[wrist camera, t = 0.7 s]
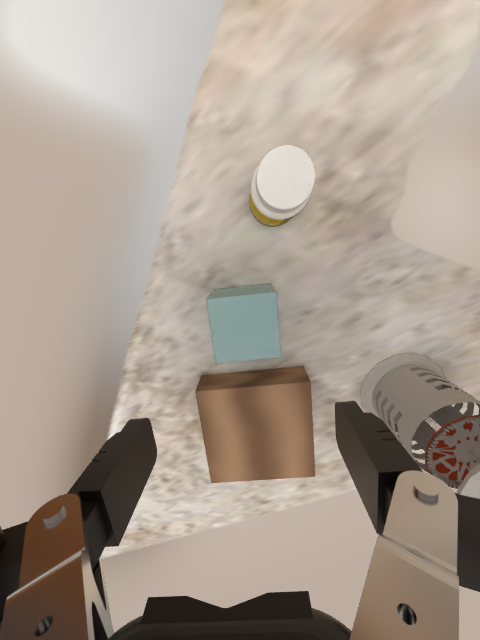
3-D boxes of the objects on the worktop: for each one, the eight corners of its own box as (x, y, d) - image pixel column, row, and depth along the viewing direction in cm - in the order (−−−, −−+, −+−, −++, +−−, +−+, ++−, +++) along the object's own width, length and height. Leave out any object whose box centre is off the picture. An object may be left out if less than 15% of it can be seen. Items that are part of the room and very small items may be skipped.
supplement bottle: (279, 236, 26) (293, 229, 18) (240, 209, 26) (236, 191, 18) (307, 192, 25) (335, 164, 17) (267, 163, 25) (276, 121, 17)
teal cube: (270, 283, 28) (276, 291, 22) (274, 336, 29) (281, 357, 23) (214, 289, 28) (206, 299, 22) (222, 341, 30) (215, 363, 24)
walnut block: (302, 365, 30) (310, 381, 27) (307, 450, 33) (315, 476, 30) (202, 374, 31) (195, 391, 27) (215, 456, 34) (211, 483, 30)
